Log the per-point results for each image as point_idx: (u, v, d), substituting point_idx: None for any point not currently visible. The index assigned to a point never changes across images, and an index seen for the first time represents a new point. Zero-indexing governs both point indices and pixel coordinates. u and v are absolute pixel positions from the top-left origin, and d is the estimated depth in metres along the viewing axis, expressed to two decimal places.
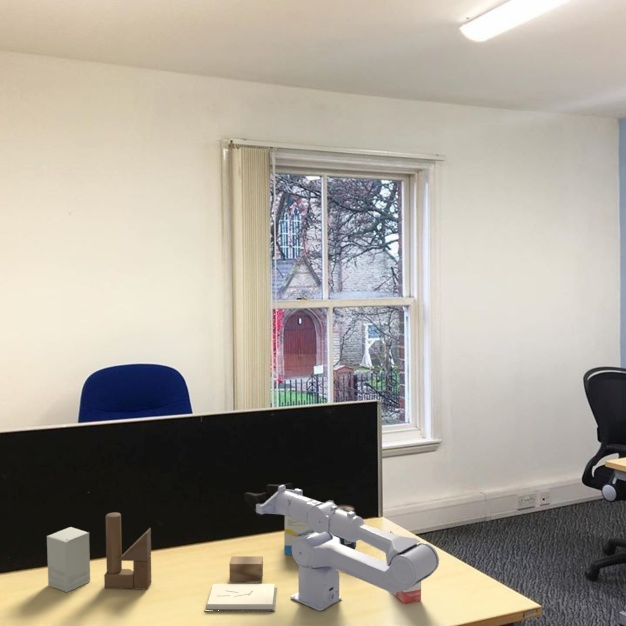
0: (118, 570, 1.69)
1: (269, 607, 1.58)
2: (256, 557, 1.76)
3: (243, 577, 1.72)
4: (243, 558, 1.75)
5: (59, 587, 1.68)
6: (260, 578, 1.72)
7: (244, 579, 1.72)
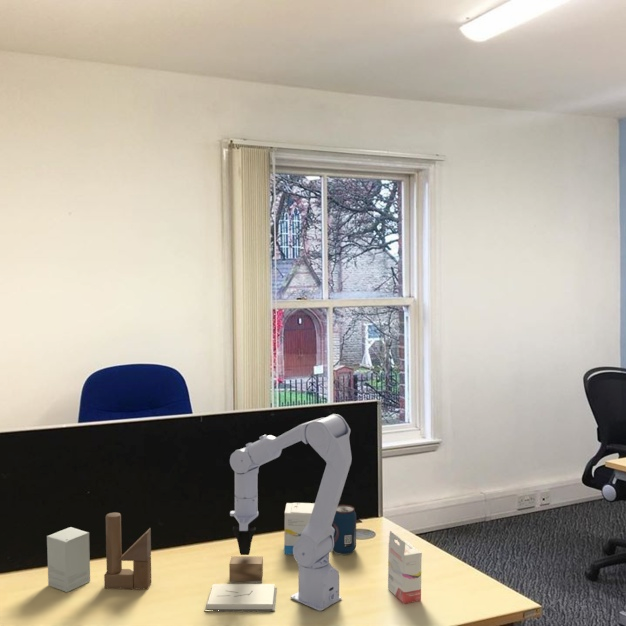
0: (118, 570, 1.69)
1: (269, 607, 1.58)
2: (256, 557, 1.76)
3: (243, 577, 1.72)
4: (243, 558, 1.75)
5: (59, 587, 1.68)
6: (260, 578, 1.72)
7: (244, 579, 1.72)
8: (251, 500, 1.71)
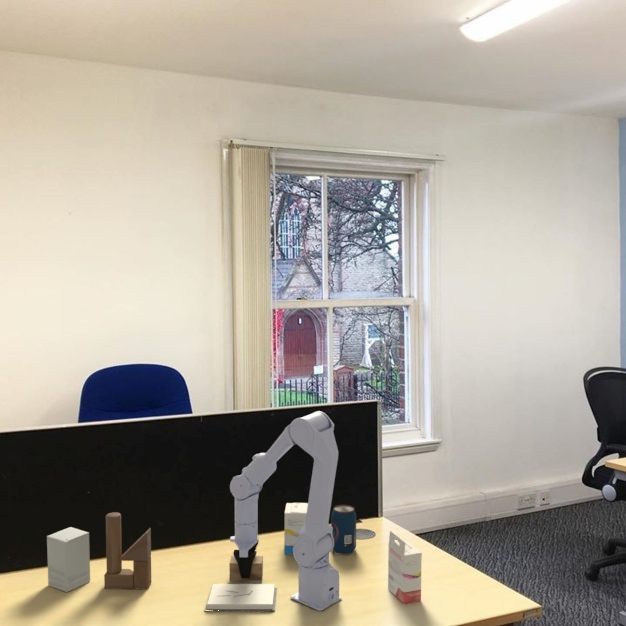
0: (118, 570, 1.69)
1: (269, 607, 1.58)
2: (256, 556, 1.76)
3: None
4: None
5: (59, 587, 1.68)
6: (260, 577, 1.72)
7: (244, 578, 1.72)
8: (251, 526, 1.71)
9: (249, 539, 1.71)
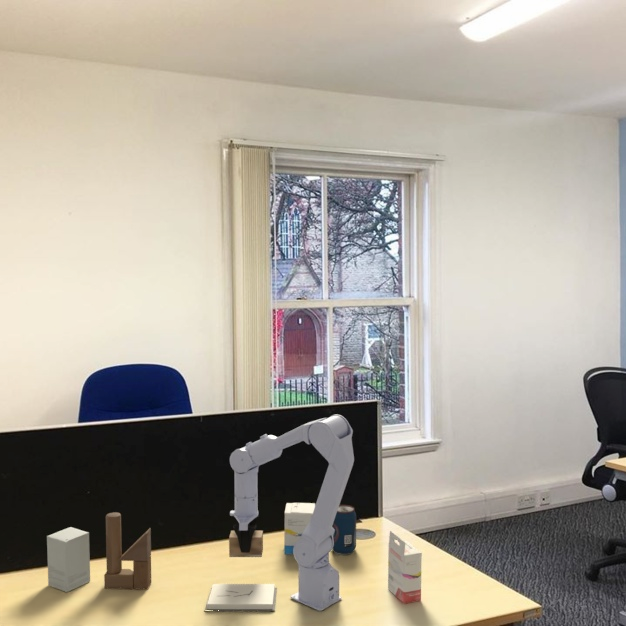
0: (118, 570, 1.69)
1: (269, 607, 1.58)
2: (256, 531, 1.74)
3: None
4: None
5: (59, 587, 1.68)
6: (260, 552, 1.71)
7: (244, 553, 1.71)
8: (251, 500, 1.70)
9: (249, 513, 1.70)
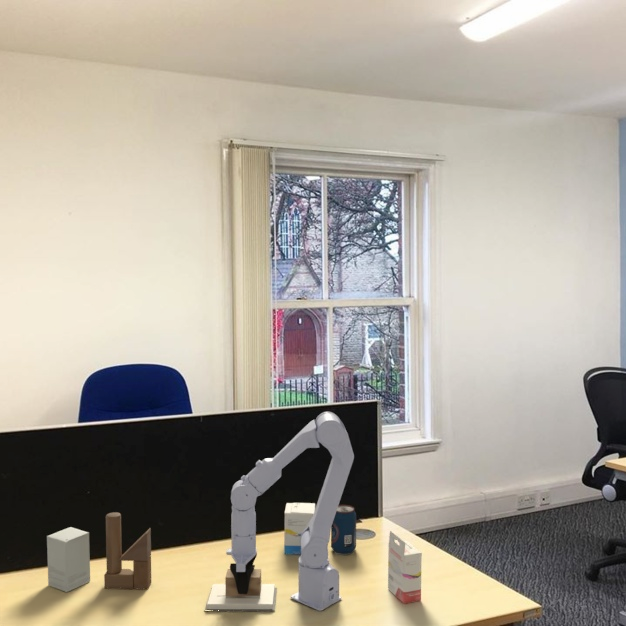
0: (118, 570, 1.69)
1: (269, 607, 1.58)
2: (254, 570, 1.65)
3: None
4: None
5: (59, 587, 1.68)
6: (258, 592, 1.61)
7: (241, 594, 1.61)
8: (249, 538, 1.60)
9: (247, 552, 1.60)
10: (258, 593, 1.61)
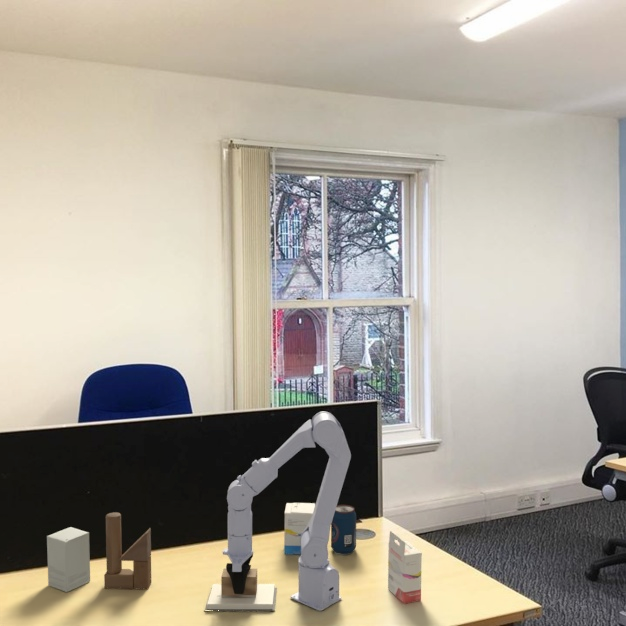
0: (118, 570, 1.69)
1: (269, 607, 1.58)
2: (250, 569, 1.65)
3: None
4: None
5: (59, 587, 1.68)
6: (254, 592, 1.61)
7: None
8: (245, 538, 1.60)
9: (243, 552, 1.60)
10: (254, 593, 1.61)
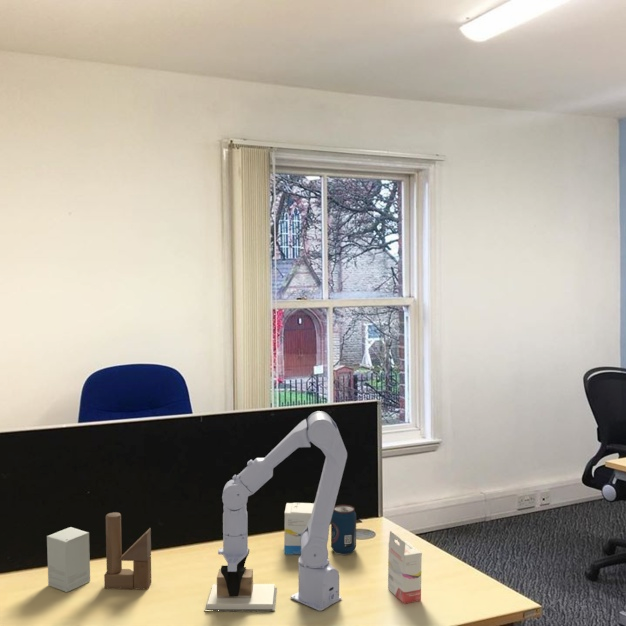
0: (118, 570, 1.69)
1: (269, 607, 1.58)
2: (245, 570, 1.65)
3: None
4: None
5: (59, 587, 1.68)
6: (250, 592, 1.61)
7: None
8: (240, 538, 1.60)
9: (238, 552, 1.60)
10: (249, 593, 1.61)
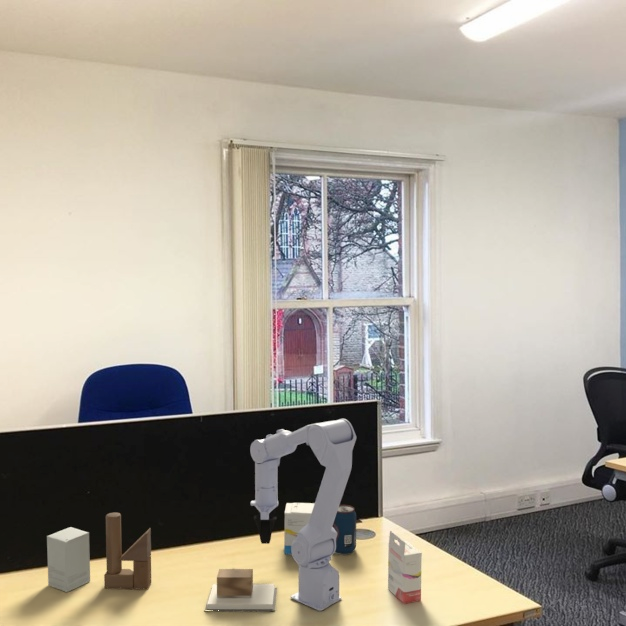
0: (118, 570, 1.69)
1: (269, 607, 1.58)
2: (245, 570, 1.65)
3: (231, 591, 1.61)
4: (232, 571, 1.64)
5: (59, 587, 1.68)
6: (250, 592, 1.61)
7: (232, 593, 1.61)
8: (271, 490, 1.74)
9: (269, 503, 1.74)
10: (249, 593, 1.61)
